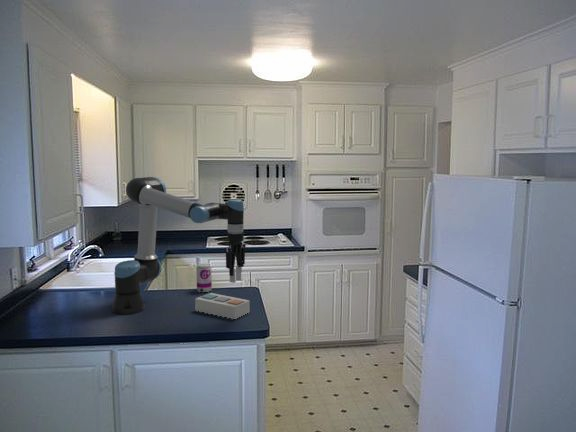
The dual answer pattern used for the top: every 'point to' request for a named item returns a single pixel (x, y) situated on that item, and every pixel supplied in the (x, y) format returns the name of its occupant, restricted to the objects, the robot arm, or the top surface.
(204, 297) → the teal key
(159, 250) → the top surface
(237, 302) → the terracotta key
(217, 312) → the keypad
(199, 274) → the supplement can
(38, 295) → the top surface
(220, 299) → the grey key
